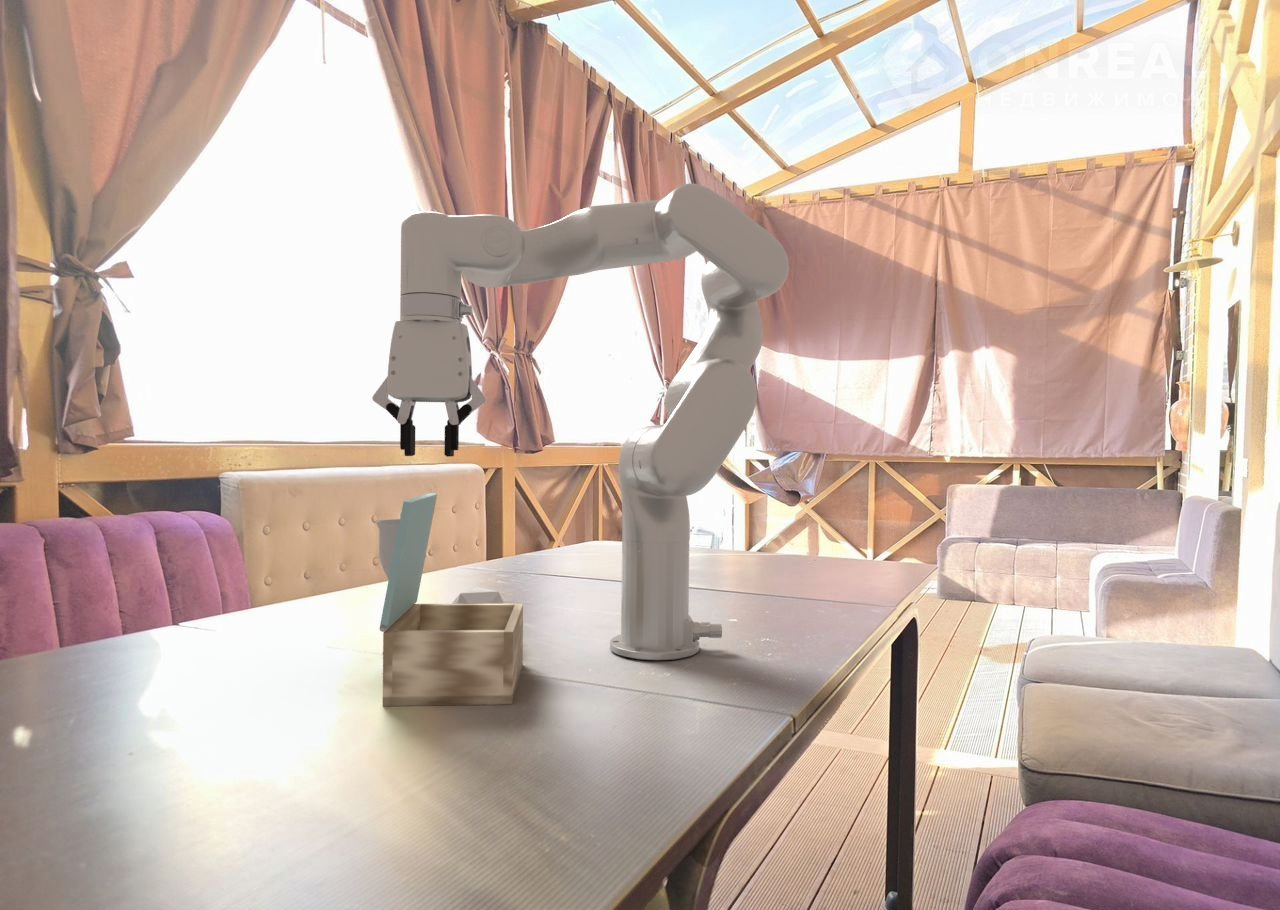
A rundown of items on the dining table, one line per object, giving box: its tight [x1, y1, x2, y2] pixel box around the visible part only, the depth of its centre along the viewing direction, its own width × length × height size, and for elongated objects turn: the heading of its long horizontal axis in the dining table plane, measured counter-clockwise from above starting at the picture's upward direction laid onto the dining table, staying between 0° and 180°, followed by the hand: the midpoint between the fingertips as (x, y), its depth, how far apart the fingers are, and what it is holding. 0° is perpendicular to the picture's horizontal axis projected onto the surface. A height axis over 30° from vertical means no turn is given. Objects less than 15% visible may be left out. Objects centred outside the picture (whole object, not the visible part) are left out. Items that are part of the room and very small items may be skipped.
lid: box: [379, 492, 438, 633], centre depth 94 cm, size 14×16×2 cm
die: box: [451, 586, 505, 604], centre depth 112 cm, size 8×9×10 cm
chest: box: [382, 602, 524, 707], centre depth 94 cm, size 14×16×8 cm
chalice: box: [375, 518, 427, 581], centre depth 108 cm, size 7×7×18 cm
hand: (429, 454), depth 101 cm, fingers open, 4 cm apart
